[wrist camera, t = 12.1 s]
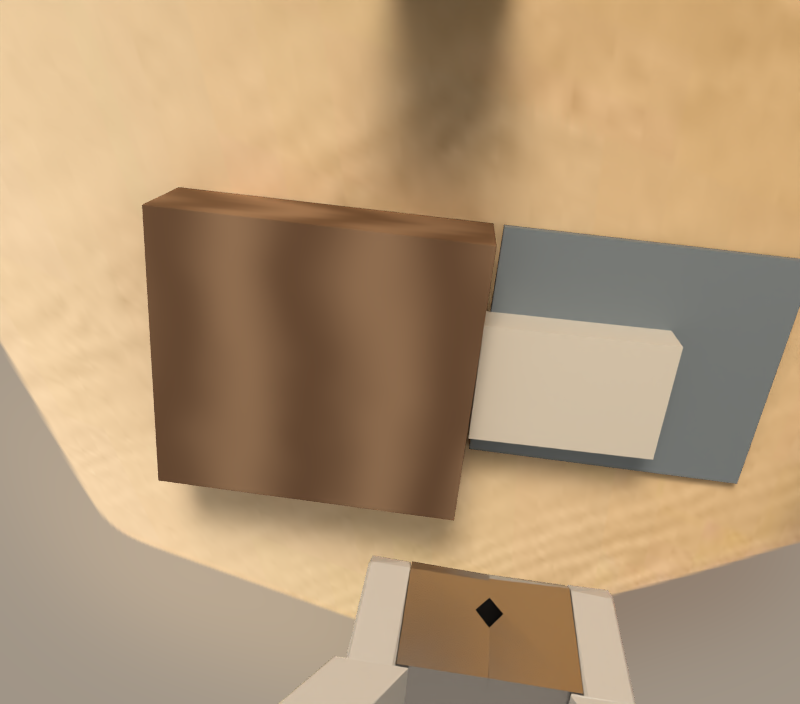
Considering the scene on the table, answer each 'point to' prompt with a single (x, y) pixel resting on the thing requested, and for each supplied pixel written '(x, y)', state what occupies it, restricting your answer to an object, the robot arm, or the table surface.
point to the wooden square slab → (314, 348)
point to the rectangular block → (573, 384)
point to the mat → (666, 310)
